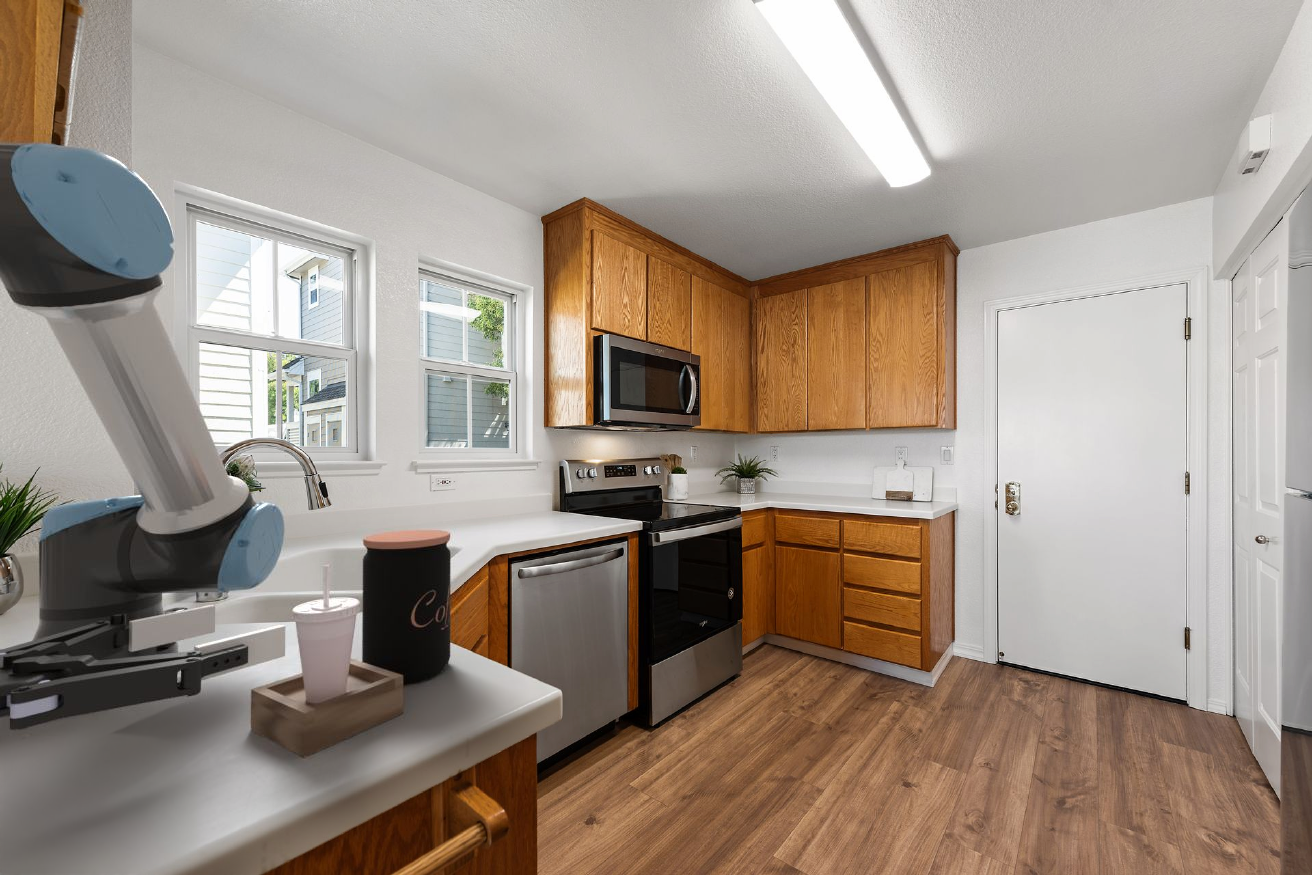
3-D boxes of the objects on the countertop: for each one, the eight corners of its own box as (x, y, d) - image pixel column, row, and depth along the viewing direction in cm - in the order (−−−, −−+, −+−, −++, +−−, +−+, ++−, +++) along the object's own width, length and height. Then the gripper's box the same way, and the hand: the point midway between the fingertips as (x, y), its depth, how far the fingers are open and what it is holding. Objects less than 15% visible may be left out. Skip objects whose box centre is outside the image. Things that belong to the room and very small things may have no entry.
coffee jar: (419, 691, 69) (419, 542, 69) (342, 685, 71) (343, 540, 71) (465, 659, 79) (465, 530, 80) (397, 654, 81) (398, 528, 82)
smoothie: (285, 713, 57) (286, 573, 57) (296, 689, 62) (297, 561, 63) (357, 702, 59) (358, 567, 59) (362, 679, 65) (362, 556, 65)
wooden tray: (250, 729, 60) (251, 689, 60) (348, 692, 68) (349, 657, 69) (304, 757, 54) (304, 712, 54) (403, 713, 63) (403, 675, 63)
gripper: (-156, 730, 43) (188, 645, 61) (-94, 846, 30) (317, 695, 48) (-153, 629, 43) (189, 575, 61) (-90, 702, 30) (318, 606, 48)
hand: (246, 628), depth 55 cm, fingers open, 13 cm apart
